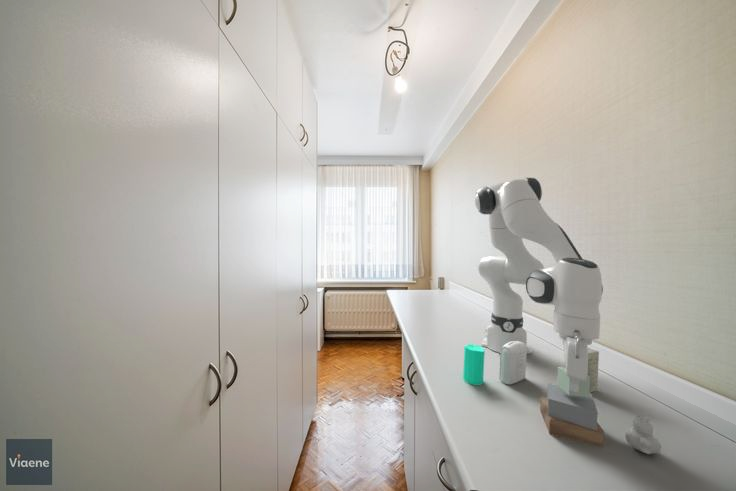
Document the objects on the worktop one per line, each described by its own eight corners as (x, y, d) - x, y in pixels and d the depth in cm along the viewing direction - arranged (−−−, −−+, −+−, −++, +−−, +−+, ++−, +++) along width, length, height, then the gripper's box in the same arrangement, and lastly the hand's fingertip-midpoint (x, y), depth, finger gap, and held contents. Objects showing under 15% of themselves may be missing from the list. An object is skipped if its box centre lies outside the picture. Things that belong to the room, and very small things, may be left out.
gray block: (547, 398, 73) (548, 383, 73) (591, 410, 68) (591, 394, 68) (547, 415, 65) (548, 398, 65) (596, 430, 61) (597, 412, 61)
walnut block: (540, 412, 74) (540, 397, 73) (585, 422, 70) (586, 406, 70) (549, 436, 64) (550, 419, 64) (602, 449, 61) (603, 431, 61)
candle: (469, 385, 85) (471, 346, 85) (459, 376, 91) (461, 339, 91) (487, 384, 86) (488, 345, 86) (476, 375, 92) (477, 339, 92)
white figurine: (655, 448, 61) (657, 411, 61) (665, 467, 56) (667, 428, 55) (622, 437, 64) (623, 403, 64) (628, 455, 59) (630, 417, 58)
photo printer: (514, 373, 95) (516, 337, 94) (527, 378, 91) (529, 341, 91) (497, 380, 89) (498, 342, 89) (510, 386, 85) (512, 346, 85)
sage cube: (556, 384, 69) (557, 366, 69) (575, 386, 69) (576, 368, 69) (568, 394, 65) (569, 375, 65) (589, 396, 64) (590, 376, 64)
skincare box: (582, 384, 89) (584, 346, 89) (598, 391, 85) (600, 351, 85) (569, 386, 87) (570, 347, 87) (583, 394, 83) (586, 353, 82)
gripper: (598, 341, 56) (594, 409, 56) (588, 320, 73) (585, 372, 73) (560, 334, 60) (557, 398, 60) (559, 315, 77) (556, 365, 77)
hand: (572, 383), depth 67 cm, fingers closed on sage cube, 6 cm apart
